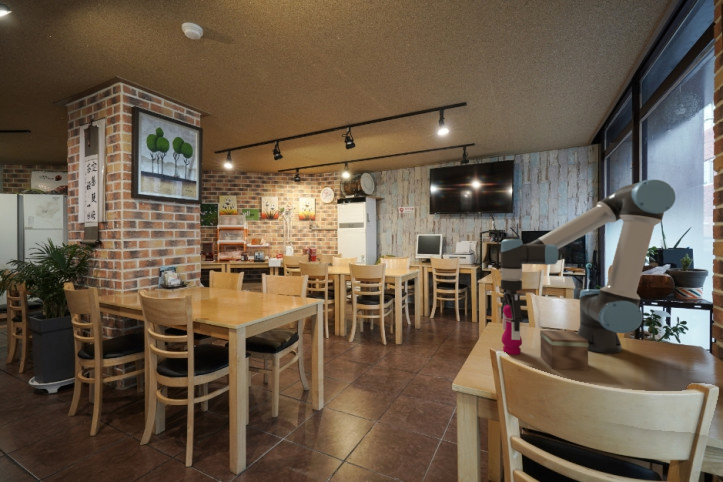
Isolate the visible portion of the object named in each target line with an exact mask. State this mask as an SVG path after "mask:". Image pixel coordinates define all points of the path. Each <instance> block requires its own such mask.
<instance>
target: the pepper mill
mask: <svg viewBox="0 0 723 482" xmlns="http://www.w3.org/2000/svg"><path fill="white" fill-rule="evenodd" d="M503 313H504V315H505V321H506V328H505V329H504V331H503V334H502V337H501V343H502V344H503V345H502V352H503V351H504V352H503V353H505V352H507V353H508V354H507V353H506V354H507V355H511V356H512V355H514V356H516V355H517V356H518V355H521V353H522V352H521V351H522V349H521V348H520V346H522V344H523V340H522V336H521V335H520V340H512V322H511V320H513V319H512V314H511V308H510V306H509V305H506V306H505V307H504V308H503V310H502V314H503Z"/></svg>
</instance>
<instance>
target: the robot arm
mask: <svg viewBox="0 0 723 482" xmlns="http://www.w3.org/2000/svg"><path fill="white" fill-rule="evenodd" d="M676 196H677V195H676V192H675V190H674V188H673V187H672V186H671V184H669V183H667V182H666V181H663V180H660V179H644V180H641V181H639V182H637V183H632V184H628V185H625V186H622V187H621V188H618V190H616V191H615V192H612V193H611V194H609V195H608V196H607V197H605V198H602V199H601V200H600V201H598V202H596V206H594V207H592V208H590V209H589V210H587V211H585V212H583V213H581V214H579V215H578V216H576V217H574V218H572V219H571V220H569V221H567V222H565V223H564V224H562V225H559V226H558V227H556V228H554V229H553V230H551V231H549V232H548V233H546V234H544V235H542V236H540V237H538V238H537V239H535V240H533V241H530V242H528V243H526V244H525V243H523V240H522V239H511V238H510V239H508V238H507V239H505V238H504V239H503V240H502V241H501V243H500V244H501V245H500V270H498V271H499V274H500V278H501V280H500V289H501V290H503V295H502V303H501V309H500V310H501V311H503V308H504V307H505V306H506V305H509V306H510V308H511V314H512V319H513V320H511V322H512V340H520V336H521V323H522V322H523V316H522V315H523V314H522V308H521V300H520V299H521V296H520V294H518V293H517V292H518V291H521V290H523V281H522V279H523V265H545V266H547V265H550V266H551V265H556V264H557V263H558V261H559V249H562V248H563V247H565V246H567V245H569V244H570V243H573V242H574V241H577V239H579V238H582V237H583V236H586V235H587V234H589V233H591V232H593V231H595V230H596V229H598V228H601V227H602V226H605V225H607V223H612V224H613V223H615V222H617V221H619V220H622V222H623V223H622V226H621V230H620V233H619V238H618V242H617V244H616V249H615V253H614V256H613V260H612V263H611V268H610V272H609V276H608V279H607V282H606V285H605V286H603V287H601V288H600V289H581V290H580V291H579V297H578V298H579V326H578V327H579V328H578V331H577V332H576V333H577V334H578V335H580V336H581V337H583V338H585V339H586V340H588V343H589V347H588V351H590V352H594V353H595V352H596V353H601V354H602V353H603V354H617V353H621V352H622V343H621V341H620V338H619V335H618V334H628V333H632V332H633V331H635V330H637V329H638V328H639V327H640V326H641V324H642V321H643V312H642V311H641V309H640V307H639V306H640V302H641V297H640V295H639V294H638V293H637V292H638V287H639V283H640V280H641V277H642V272H643V269H644V266H645V261H646V257H647V254H648V250H649V248H650V244H651V243H650V242H651V239H652V235H653V231H654V229H655V226H656V225H658V224H660V223H662V221H663V218H664V214H665V212H667V211H668V210H670V209H671V208H672V207H673V206H674V204H675V202H676ZM505 328H506V321H505V315H504V313H503V312H502V330H505Z"/></svg>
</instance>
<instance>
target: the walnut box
mask: <svg viewBox="0 0 723 482" xmlns="http://www.w3.org/2000/svg"><path fill="white" fill-rule="evenodd" d="M539 335H540V337H539V338H540V340H539V341H540V342H539V343H540V359H542V360H543V361H544V362H545V363H546V364H547V365H548V366H549V367H550V368H551V369H554V370H571V371H585V372H588V371H589V350H588V347H589V343H588V340H586V339H585V338H583V337H581V336H580V335H578V334H577V332H575V331H573V330H553V329H552V330H548V329H547V330H546V329H545V330H544V329H540V332H539Z"/></svg>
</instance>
